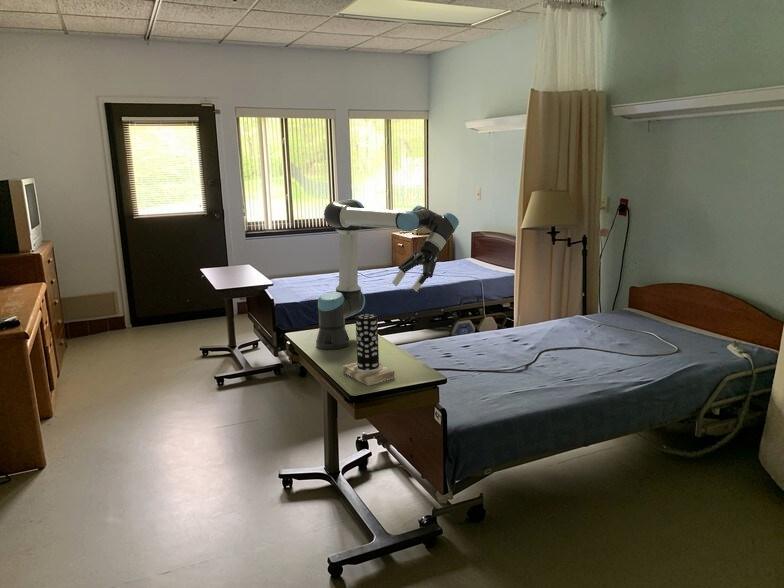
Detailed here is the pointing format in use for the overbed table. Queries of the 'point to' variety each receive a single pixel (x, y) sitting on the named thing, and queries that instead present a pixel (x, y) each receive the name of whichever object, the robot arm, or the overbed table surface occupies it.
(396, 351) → the overbed table surface
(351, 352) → the overbed table surface
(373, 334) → the spotted tube
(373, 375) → the plinth
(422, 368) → the overbed table surface
